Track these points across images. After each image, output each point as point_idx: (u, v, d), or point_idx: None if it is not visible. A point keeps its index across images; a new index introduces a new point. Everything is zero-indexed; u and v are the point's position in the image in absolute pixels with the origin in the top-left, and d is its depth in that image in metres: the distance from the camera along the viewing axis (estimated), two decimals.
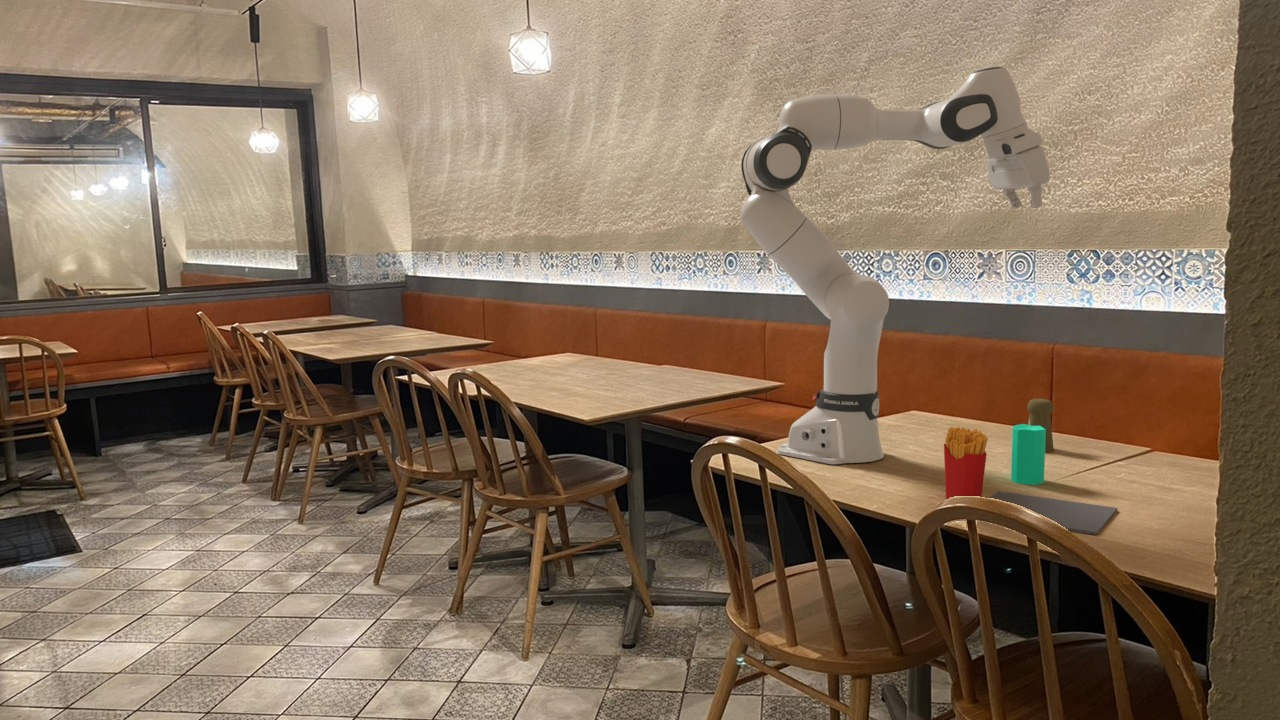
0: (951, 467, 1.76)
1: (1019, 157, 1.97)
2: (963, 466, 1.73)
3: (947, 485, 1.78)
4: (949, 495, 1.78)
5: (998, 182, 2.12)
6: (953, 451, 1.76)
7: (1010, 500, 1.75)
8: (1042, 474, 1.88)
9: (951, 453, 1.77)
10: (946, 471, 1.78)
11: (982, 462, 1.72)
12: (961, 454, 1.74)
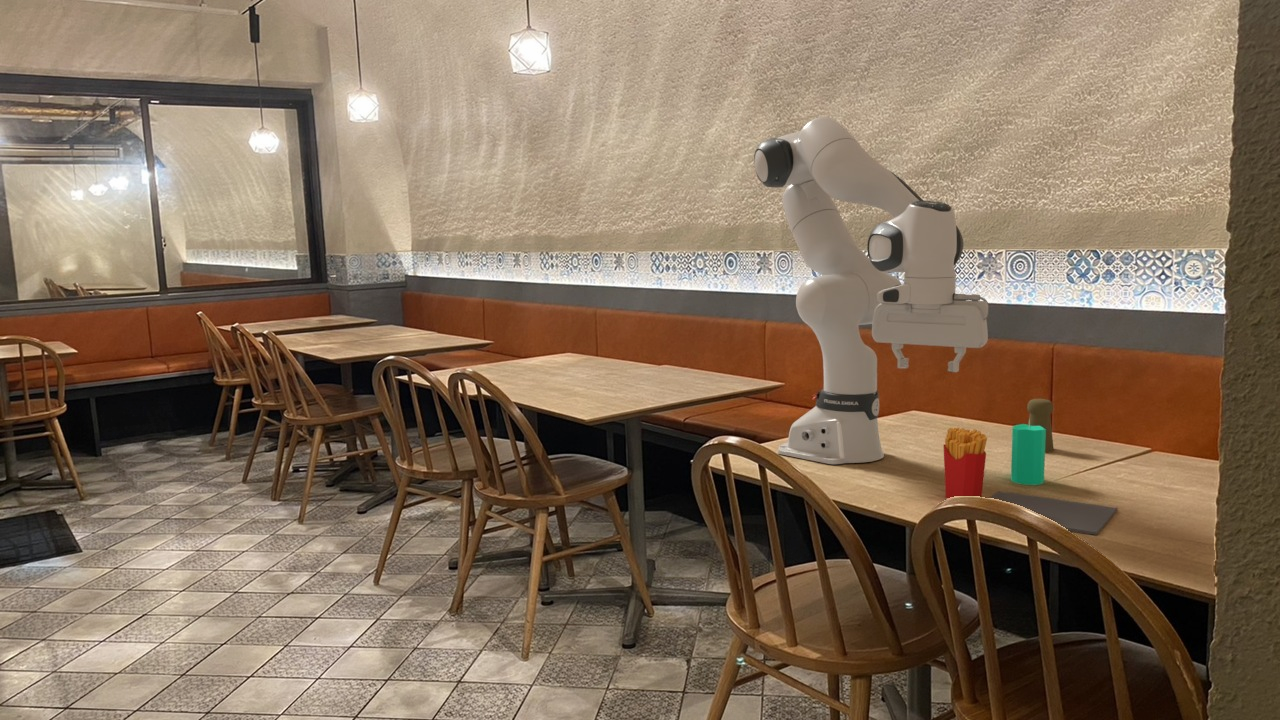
0: (951, 467, 1.76)
1: None
2: (963, 466, 1.74)
3: (947, 486, 1.78)
4: (949, 495, 1.78)
5: None
6: (953, 451, 1.76)
7: (1010, 500, 1.75)
8: (1042, 474, 1.88)
9: (951, 453, 1.77)
10: (946, 471, 1.78)
11: (982, 462, 1.73)
12: (961, 454, 1.74)
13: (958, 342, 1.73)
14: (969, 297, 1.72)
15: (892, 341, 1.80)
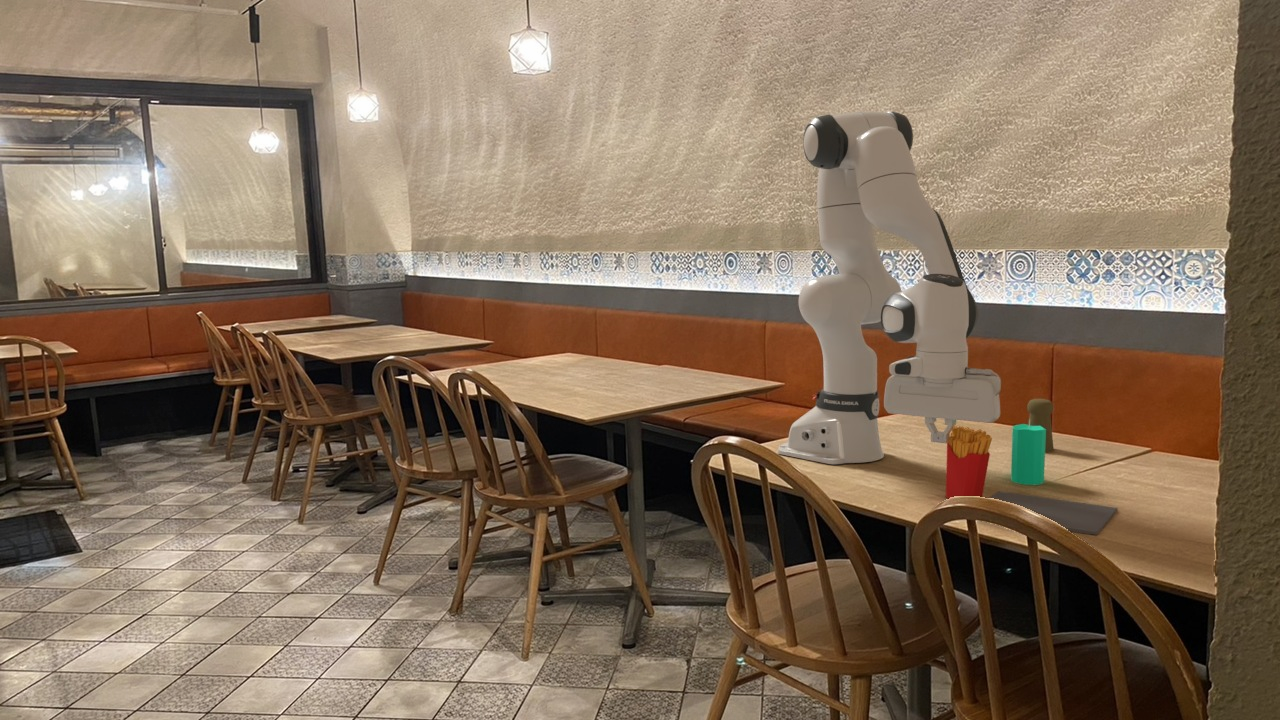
0: (953, 466, 1.76)
1: None
2: (965, 465, 1.73)
3: (948, 484, 1.78)
4: (949, 494, 1.77)
5: None
6: (956, 449, 1.76)
7: (1010, 500, 1.75)
8: (1042, 474, 1.88)
9: (954, 452, 1.76)
10: (948, 469, 1.78)
11: (985, 462, 1.72)
12: (964, 453, 1.74)
13: (970, 416, 1.72)
14: (981, 371, 1.72)
15: (904, 413, 1.80)
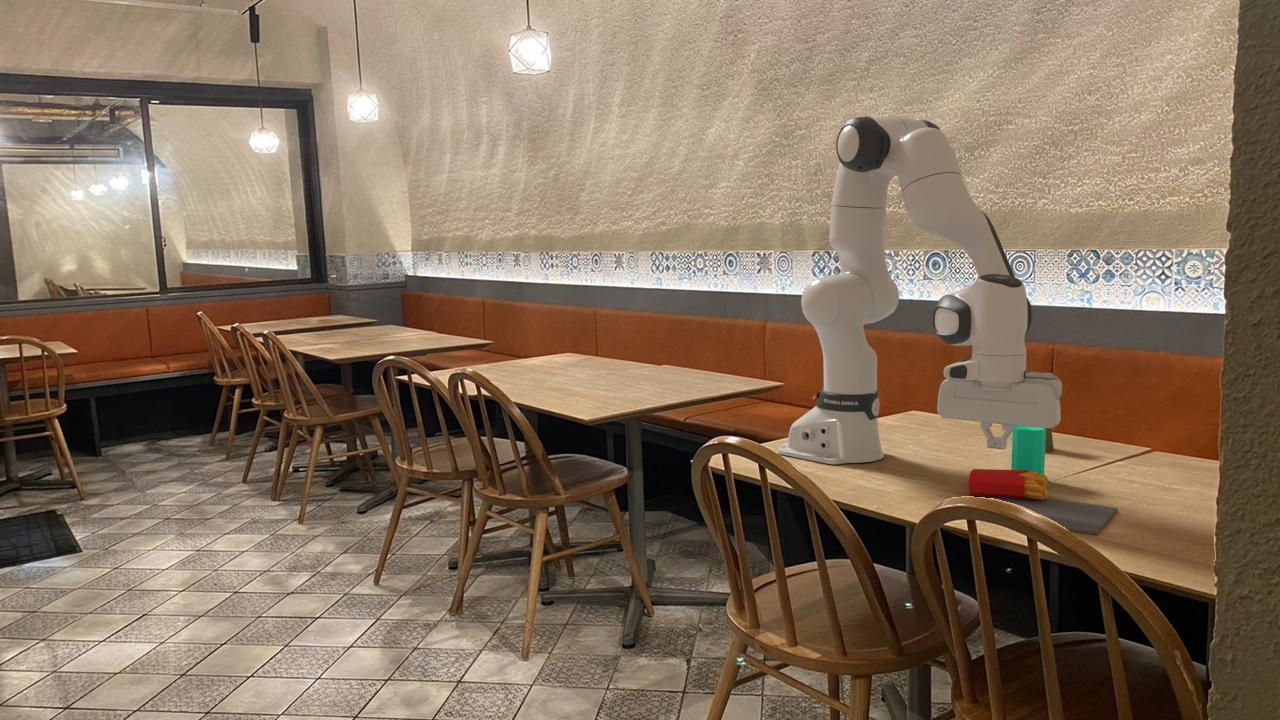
0: (1007, 471, 1.80)
1: None
2: (1010, 475, 1.77)
3: (987, 469, 1.82)
4: (977, 470, 1.82)
5: None
6: (1024, 474, 1.79)
7: (1010, 500, 1.75)
8: (1042, 474, 1.88)
9: (1021, 473, 1.79)
10: (1001, 470, 1.81)
11: (1015, 491, 1.75)
12: (1022, 475, 1.76)
13: (1030, 421, 1.67)
14: (1041, 375, 1.66)
15: (959, 418, 1.74)
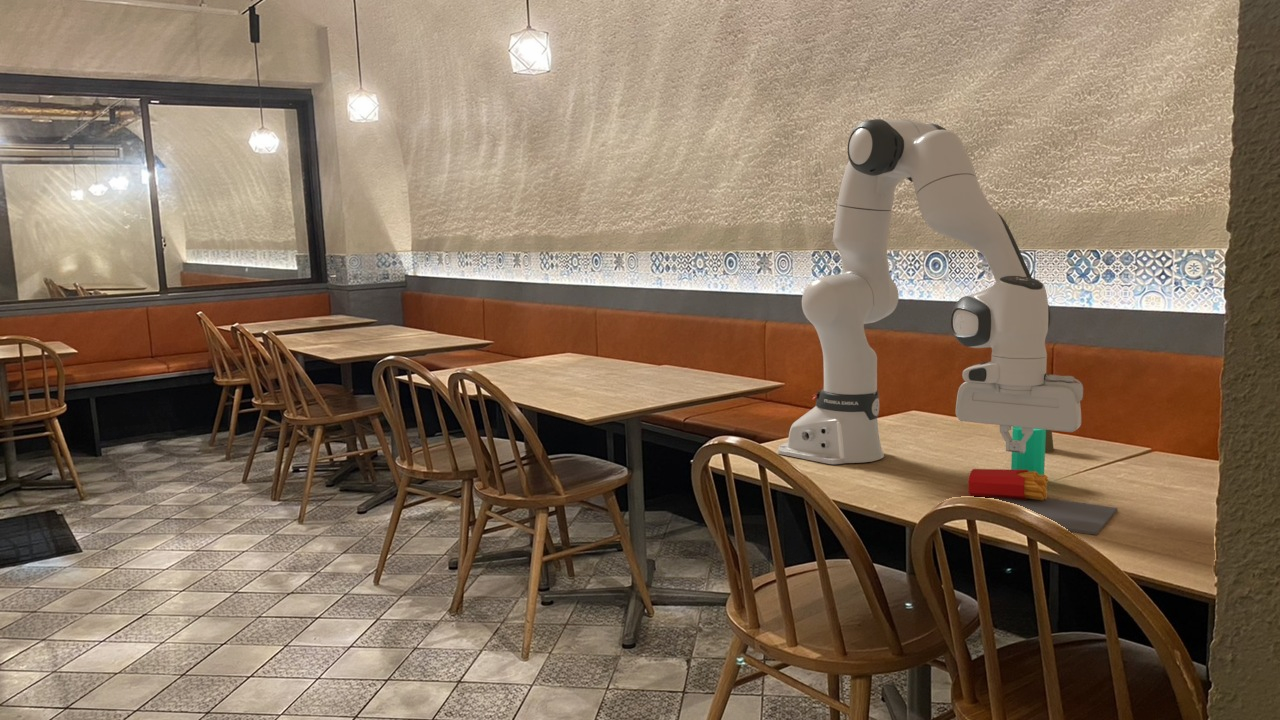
0: (1007, 471, 1.80)
1: None
2: (1010, 475, 1.76)
3: (987, 469, 1.82)
4: (976, 470, 1.82)
5: None
6: (1024, 474, 1.78)
7: (1010, 500, 1.75)
8: (1042, 474, 1.88)
9: (1021, 473, 1.79)
10: (1001, 469, 1.81)
11: (1015, 492, 1.75)
12: (1022, 475, 1.76)
13: (1050, 425, 1.65)
14: (1062, 378, 1.64)
15: (978, 421, 1.72)
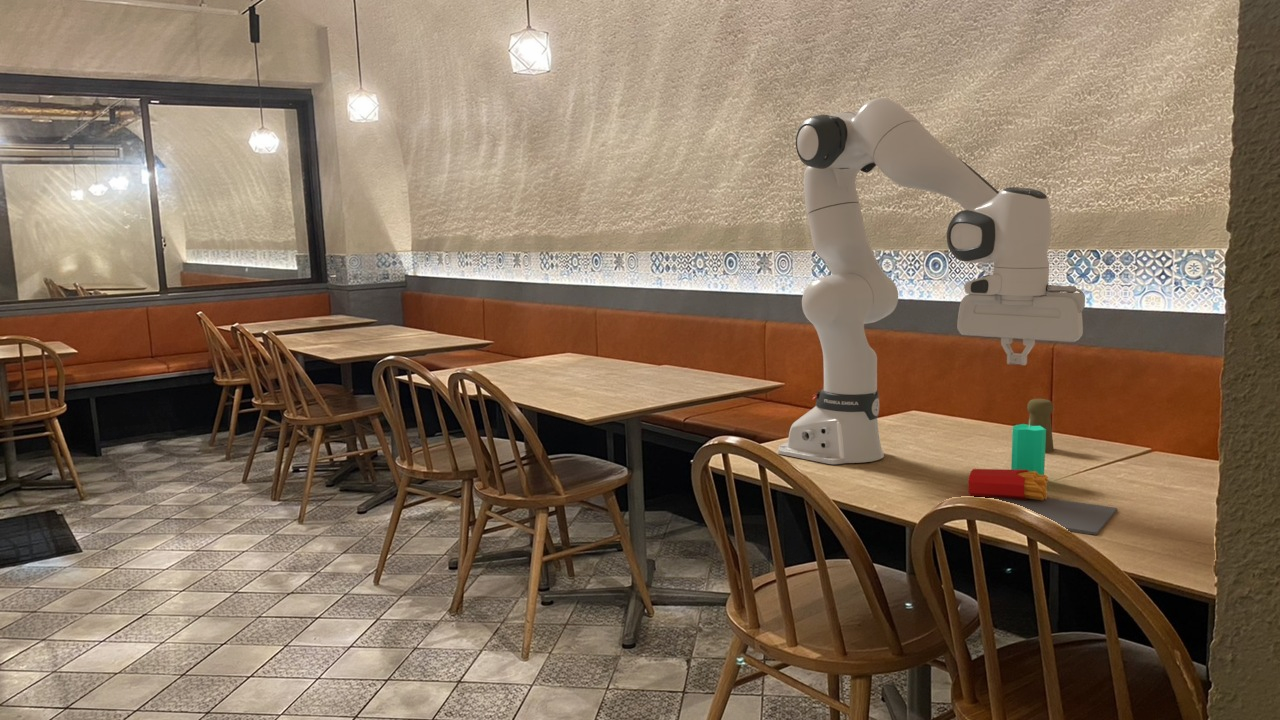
0: (1007, 471, 1.80)
1: None
2: (1010, 475, 1.76)
3: (987, 469, 1.82)
4: (976, 470, 1.82)
5: None
6: (1024, 474, 1.78)
7: (1010, 500, 1.75)
8: (1042, 474, 1.88)
9: (1021, 473, 1.79)
10: (1001, 469, 1.81)
11: (1015, 492, 1.75)
12: (1022, 475, 1.76)
13: (1051, 335, 1.65)
14: (1064, 288, 1.64)
15: (979, 334, 1.72)
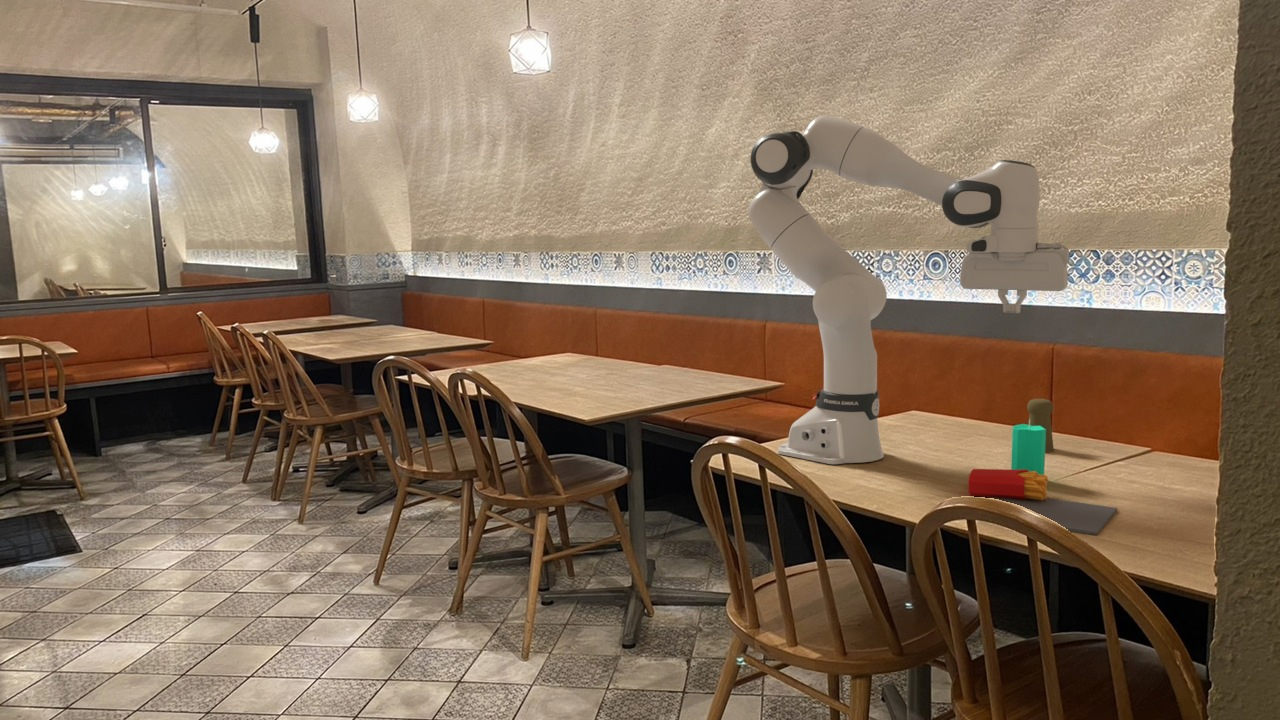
0: (1007, 471, 1.80)
1: None
2: (1010, 475, 1.76)
3: (987, 469, 1.82)
4: (976, 470, 1.82)
5: None
6: (1024, 474, 1.78)
7: (1010, 500, 1.75)
8: (1042, 474, 1.88)
9: (1021, 473, 1.79)
10: (1001, 469, 1.81)
11: (1015, 492, 1.75)
12: (1022, 475, 1.76)
13: (1041, 286, 1.93)
14: (1051, 245, 1.92)
15: (979, 287, 2.00)
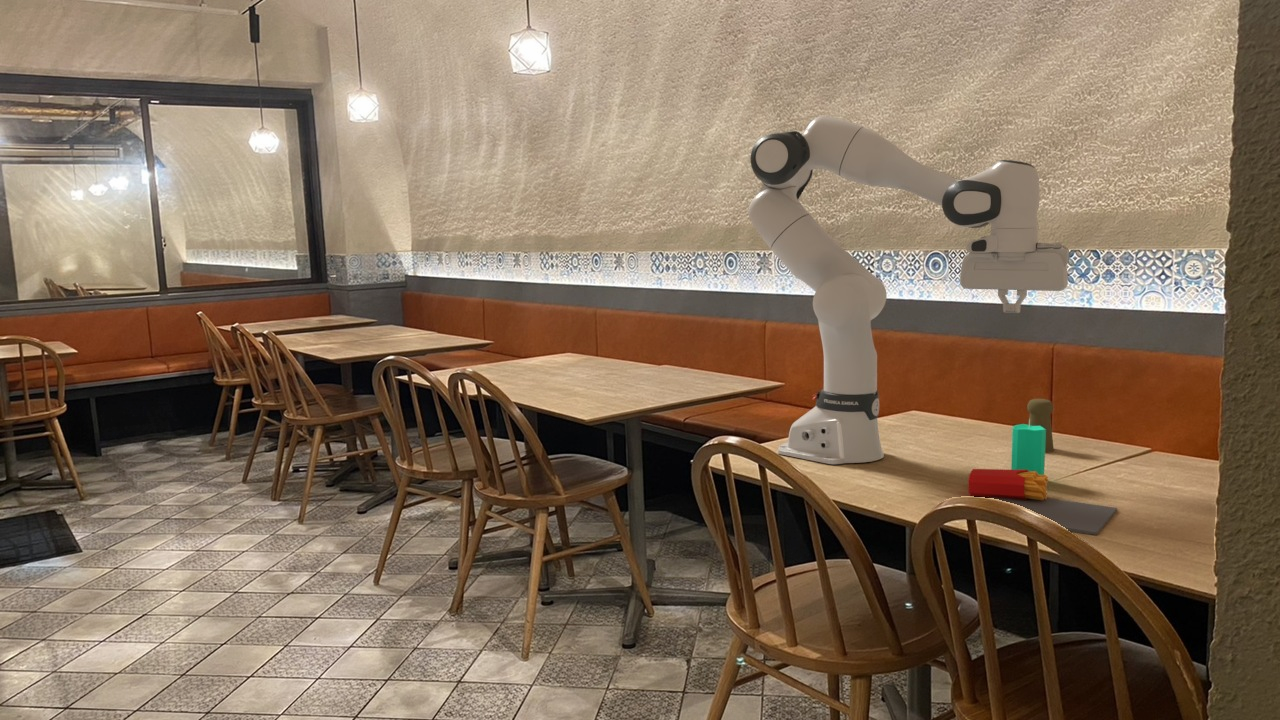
0: (1007, 471, 1.80)
1: None
2: (1010, 475, 1.76)
3: (987, 469, 1.82)
4: (976, 470, 1.82)
5: None
6: (1024, 474, 1.78)
7: (1010, 500, 1.75)
8: (1042, 474, 1.88)
9: (1021, 473, 1.79)
10: (1001, 469, 1.81)
11: (1015, 492, 1.75)
12: (1022, 475, 1.76)
13: (1041, 286, 1.93)
14: (1051, 245, 1.92)
15: (979, 287, 2.00)
